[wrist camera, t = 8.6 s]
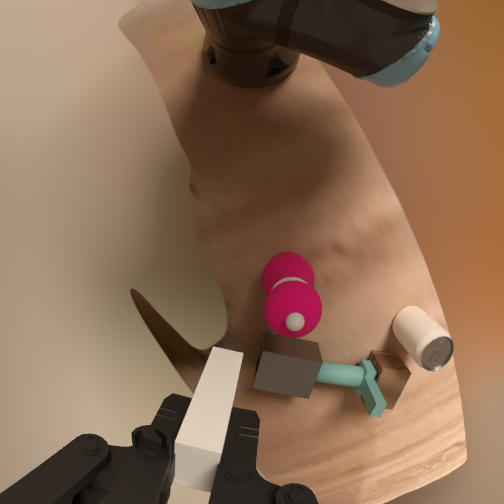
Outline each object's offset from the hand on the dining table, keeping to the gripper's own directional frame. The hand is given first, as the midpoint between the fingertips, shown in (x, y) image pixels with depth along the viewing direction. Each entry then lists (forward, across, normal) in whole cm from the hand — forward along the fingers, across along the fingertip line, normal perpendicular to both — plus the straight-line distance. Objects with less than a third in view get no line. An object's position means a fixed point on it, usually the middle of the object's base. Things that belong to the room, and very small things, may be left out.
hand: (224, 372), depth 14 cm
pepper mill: (+33, +5, -3) cm, 33 cm away
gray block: (+32, +8, -17) cm, 37 cm away
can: (+33, +28, -8) cm, 43 cm away
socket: (+32, +25, -18) cm, 44 cm away
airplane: (+31, +18, -17) cm, 40 cm away
